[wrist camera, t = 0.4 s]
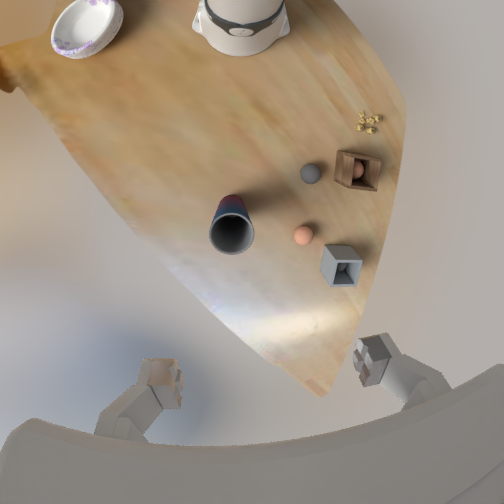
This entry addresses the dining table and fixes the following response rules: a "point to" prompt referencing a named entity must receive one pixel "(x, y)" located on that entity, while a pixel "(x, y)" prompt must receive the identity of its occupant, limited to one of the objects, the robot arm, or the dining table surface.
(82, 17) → the white purple floral bowl
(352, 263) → the grey square open box
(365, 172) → the walnut tube
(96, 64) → the dining table surface
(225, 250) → the cup
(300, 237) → the terracotta ball
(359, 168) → the terracotta ball
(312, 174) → the charcoal ball
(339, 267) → the charcoal ball
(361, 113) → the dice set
